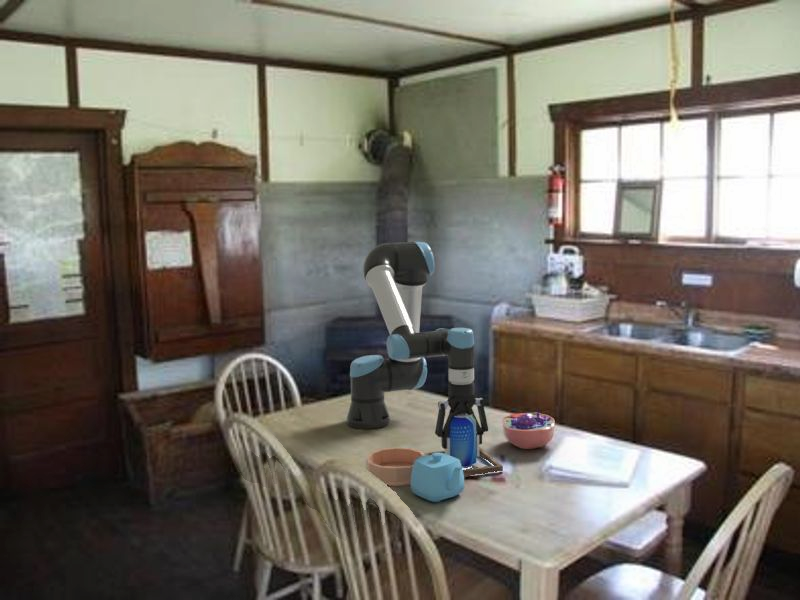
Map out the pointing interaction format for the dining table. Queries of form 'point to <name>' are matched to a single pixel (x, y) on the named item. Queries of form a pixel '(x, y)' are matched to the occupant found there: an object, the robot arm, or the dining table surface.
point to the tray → (483, 470)
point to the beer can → (463, 439)
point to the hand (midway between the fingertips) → (462, 456)
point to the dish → (393, 465)
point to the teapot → (437, 477)
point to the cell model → (528, 429)
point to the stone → (478, 465)
